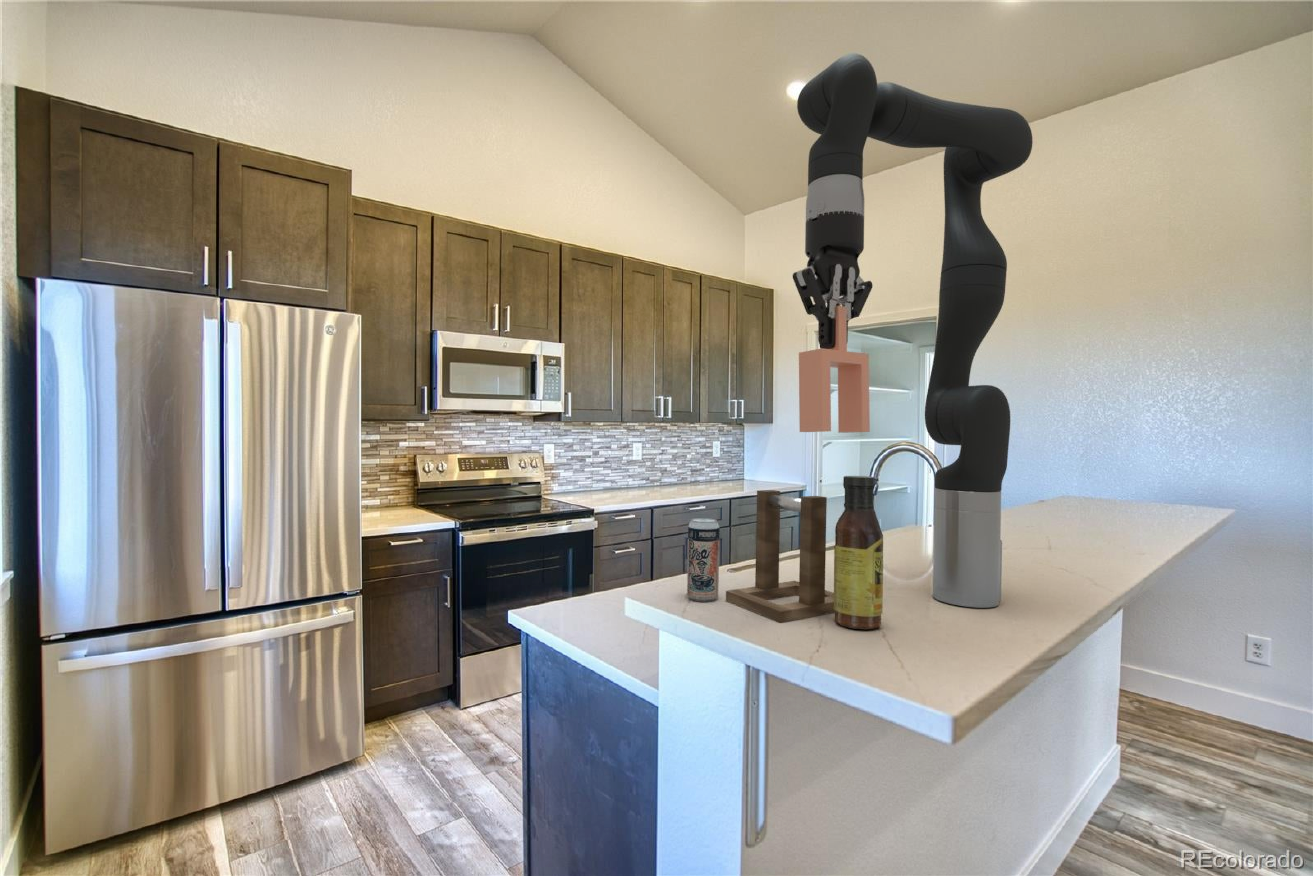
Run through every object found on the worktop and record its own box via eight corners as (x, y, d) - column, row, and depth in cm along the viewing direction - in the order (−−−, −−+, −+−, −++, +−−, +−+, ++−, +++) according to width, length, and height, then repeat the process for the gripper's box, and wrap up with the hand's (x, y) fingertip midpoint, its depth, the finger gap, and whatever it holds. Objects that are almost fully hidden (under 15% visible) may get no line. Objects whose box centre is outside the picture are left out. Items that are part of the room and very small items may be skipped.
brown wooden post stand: (794, 589, 98) (796, 488, 98) (852, 608, 88) (854, 495, 88) (725, 600, 91) (727, 491, 91) (780, 622, 80) (782, 499, 80)
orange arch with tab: (845, 432, 84) (844, 315, 84) (869, 431, 81) (868, 309, 81) (799, 432, 79) (798, 307, 80) (822, 431, 76) (821, 301, 76)
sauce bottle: (886, 633, 77) (889, 478, 77) (835, 629, 78) (838, 477, 78) (877, 618, 83) (880, 475, 83) (831, 615, 85) (833, 473, 84)
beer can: (685, 601, 90) (686, 521, 90) (688, 593, 95) (690, 517, 95) (717, 603, 89) (718, 522, 89) (719, 595, 94) (720, 518, 94)
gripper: (847, 236, 87) (845, 356, 87) (776, 217, 80) (775, 348, 80) (891, 220, 81) (889, 350, 81) (819, 198, 73) (817, 341, 74)
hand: (832, 348), depth 80 cm, fingers closed on orange arch with tab, 1 cm apart
